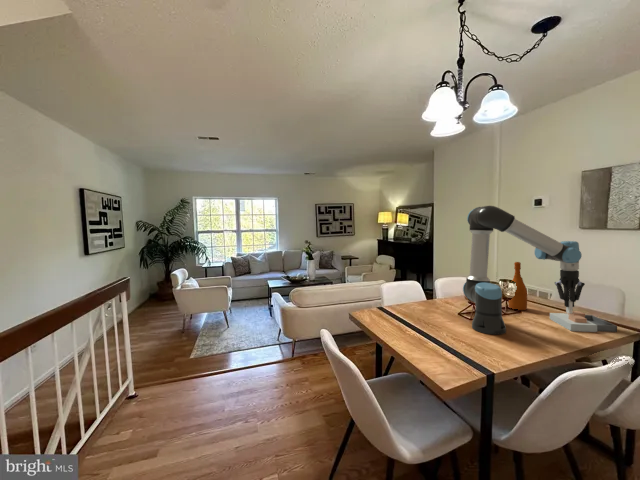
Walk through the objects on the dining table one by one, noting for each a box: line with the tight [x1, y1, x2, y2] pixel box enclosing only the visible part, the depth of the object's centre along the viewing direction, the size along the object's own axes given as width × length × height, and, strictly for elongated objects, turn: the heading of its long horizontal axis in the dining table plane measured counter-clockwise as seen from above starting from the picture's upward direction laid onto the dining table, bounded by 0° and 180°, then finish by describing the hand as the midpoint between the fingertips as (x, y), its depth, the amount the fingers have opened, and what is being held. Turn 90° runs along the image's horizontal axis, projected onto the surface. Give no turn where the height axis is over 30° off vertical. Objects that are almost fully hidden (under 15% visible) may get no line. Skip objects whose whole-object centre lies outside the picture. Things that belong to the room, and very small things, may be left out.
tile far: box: [568, 310, 586, 318], centre depth 148 cm, size 5×5×2 cm
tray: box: [585, 314, 618, 333], centre depth 143 cm, size 8×16×3 cm, turn 167°
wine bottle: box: [507, 261, 528, 311], centre depth 174 cm, size 10×10×30 cm
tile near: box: [569, 315, 587, 323], centre depth 141 cm, size 5×5×2 cm
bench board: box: [549, 312, 598, 333], centre depth 144 cm, size 11×18×4 cm, turn 167°
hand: (569, 312), depth 149 cm, fingers closed
